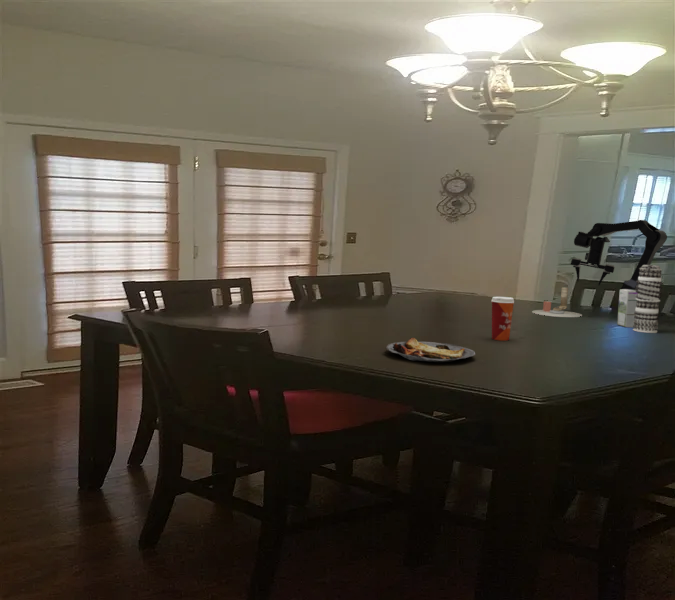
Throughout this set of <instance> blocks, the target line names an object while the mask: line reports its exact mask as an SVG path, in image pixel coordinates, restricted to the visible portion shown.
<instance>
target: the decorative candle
mask: <svg viewBox="0 0 675 600" xmlns="http://www.w3.org/2000/svg"><path fill="white" fill-rule="evenodd" d="M662 271H663V269H662V268H661V267H660V265H658V264H657V265H656V264H650V265H642V267H641V268H640V271H639V277H638V280H637V281H636V283H638V285H637V286H636V288H637V290H636V292H637V293H638V294H637V295H636V300H637V304H636V309H635V311H636V312H634V314H636V315H635V316H634V318H636V319H635V320H634V321H633V322H634V323H635V324H634V325H633V327H632V328H633V329H632V331H635V332H638V333H645V334H647V333H648V334H656V333H658V328H659V326H658V325H659V322H658V321H659V317H658V316H660V313H659V303H660V302H661V298H662V296H661V294H662V291H660V290H662V289H663V287H662V286H663V284H664V282H662Z"/></svg>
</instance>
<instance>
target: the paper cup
mask: <svg viewBox="0 0 675 600" xmlns="http://www.w3.org/2000/svg"><path fill="white" fill-rule="evenodd" d="M514 299H515V298H513V297H510V296H509V297H508V296H493V297H492V299H491V300H490V301H491V339H492V340H494V341H503V342H505V341H509V340H510V337H511V328H512V320H513V319H512V318H513V311H514V304H515V300H514Z"/></svg>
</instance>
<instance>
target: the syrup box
mask: <svg viewBox="0 0 675 600" xmlns="http://www.w3.org/2000/svg"><path fill="white" fill-rule="evenodd" d="M637 294H638V293H637V292H636V290H631V289H619V294H618V295H619V297H618V306H617V307H618V308H617V321H616V322H617V323H616V325H617V326H620V327H624V328H634V327H633V325H634V324H635V323H634V322H633V321H634V320H635V319H636V318H634V316H635V315H636V314H634V312H636V311H635V309H636V304H637V300H636V295H637Z"/></svg>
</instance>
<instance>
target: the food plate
mask: <svg viewBox="0 0 675 600" xmlns="http://www.w3.org/2000/svg"><path fill="white" fill-rule="evenodd" d="M385 350H387V352H390V353H391V354H397V355H400V356H402V358H404V359H407V360H410V361H419V362H428V363H429V362H431V363H433V362H434V363H447V362H448V363H449V362H455V361H457V360H462V359H464V360H465V359H466V358H467V359H468V358H471V357H473V356H476V352H475V350H473V349H470V348H467V347H465V346H464V347H463V345H459V344H455V343H446V342H445V343H444V342H435V341H433V342H432V341H422V340H421V341H418V340H417V339H416V338H415V337H410V338H409V339H408V340H407V341H399V342H398V341H396V342H392V343H388V344H387V345H386V346H385Z"/></svg>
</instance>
